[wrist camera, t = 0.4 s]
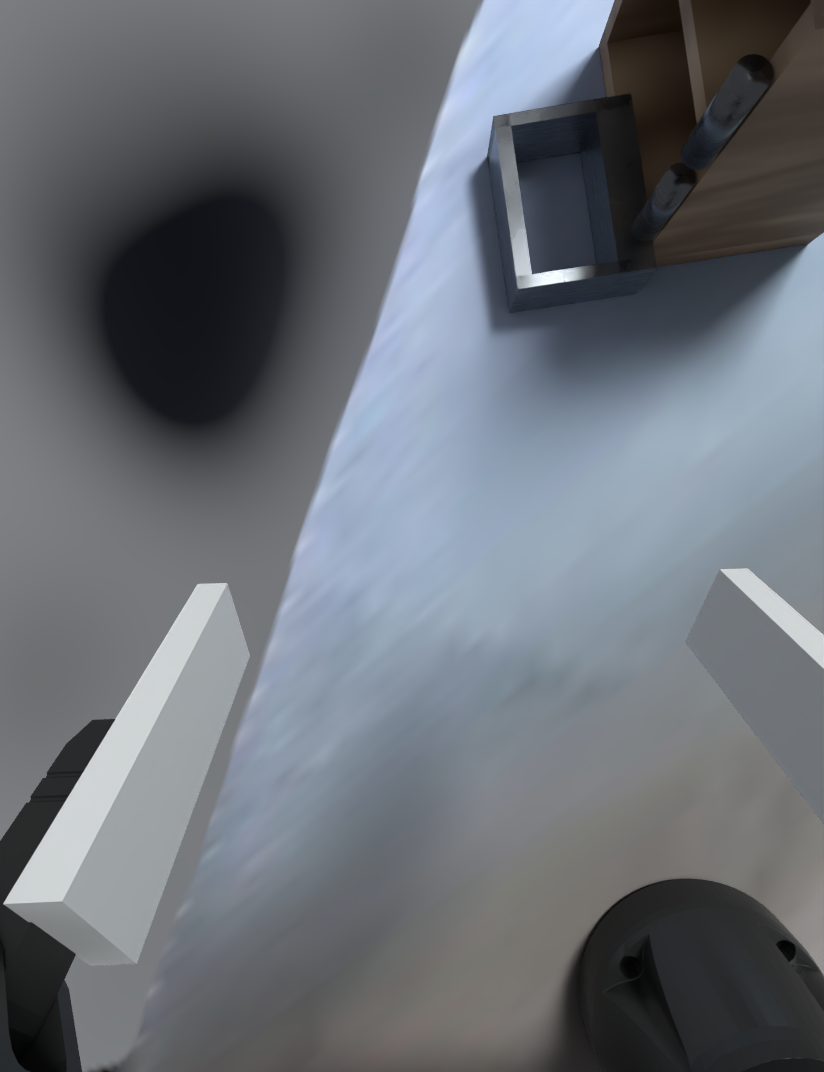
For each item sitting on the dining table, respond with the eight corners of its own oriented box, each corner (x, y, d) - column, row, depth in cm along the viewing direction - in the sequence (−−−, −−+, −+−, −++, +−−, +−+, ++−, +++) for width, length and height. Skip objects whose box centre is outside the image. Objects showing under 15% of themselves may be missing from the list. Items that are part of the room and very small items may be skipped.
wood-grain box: (808, 243, 29) (1209, -69, 14) (631, 270, 30) (841, -6, 15) (774, 15, 30) (1132, -527, 15) (598, 45, 30) (772, -452, 15)
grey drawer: (635, 293, 30) (782, 118, 17) (509, 312, 30) (567, 153, 18) (612, 135, 30) (742, -150, 18) (487, 155, 30) (529, -111, 18)
